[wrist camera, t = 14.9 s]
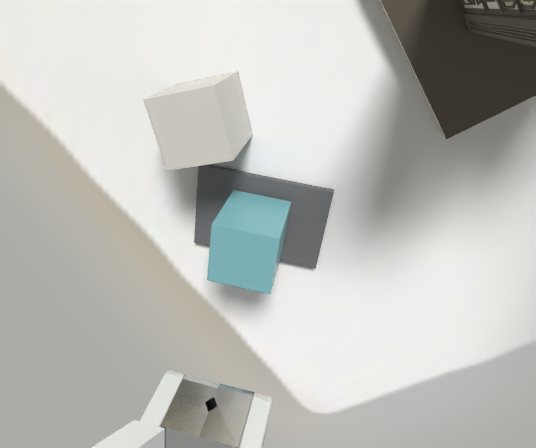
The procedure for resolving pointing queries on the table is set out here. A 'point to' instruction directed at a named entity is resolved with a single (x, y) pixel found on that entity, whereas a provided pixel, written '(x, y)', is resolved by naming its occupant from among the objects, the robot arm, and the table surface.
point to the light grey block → (200, 121)
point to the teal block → (248, 241)
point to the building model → (468, 55)
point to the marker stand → (301, 196)
